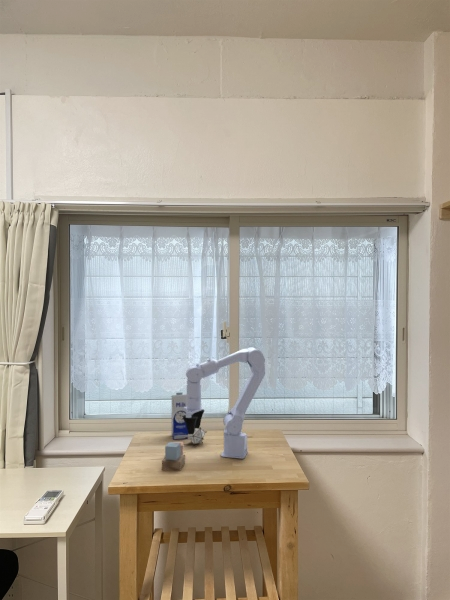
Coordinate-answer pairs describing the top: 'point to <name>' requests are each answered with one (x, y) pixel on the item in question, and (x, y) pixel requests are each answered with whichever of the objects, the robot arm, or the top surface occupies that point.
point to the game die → (196, 436)
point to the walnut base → (173, 463)
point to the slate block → (172, 451)
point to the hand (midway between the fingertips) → (194, 430)
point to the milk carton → (179, 416)
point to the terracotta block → (181, 447)
